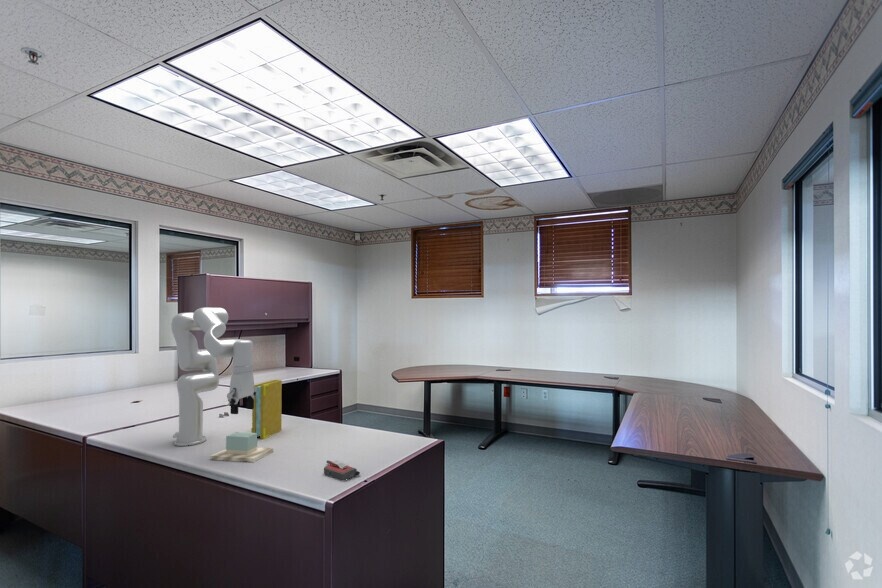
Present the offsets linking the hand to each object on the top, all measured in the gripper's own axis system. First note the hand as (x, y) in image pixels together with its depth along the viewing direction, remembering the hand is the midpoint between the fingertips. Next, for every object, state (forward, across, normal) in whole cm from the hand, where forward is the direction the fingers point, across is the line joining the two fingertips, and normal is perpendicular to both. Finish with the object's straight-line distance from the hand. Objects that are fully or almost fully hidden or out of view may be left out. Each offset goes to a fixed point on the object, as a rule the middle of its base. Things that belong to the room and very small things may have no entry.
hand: (242, 411), depth 173 cm
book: (+18, -31, -9) cm, 37 cm away
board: (+18, 0, 0) cm, 18 cm away
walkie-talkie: (+19, +11, +48) cm, 52 cm away
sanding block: (+17, 0, 0) cm, 17 cm away
